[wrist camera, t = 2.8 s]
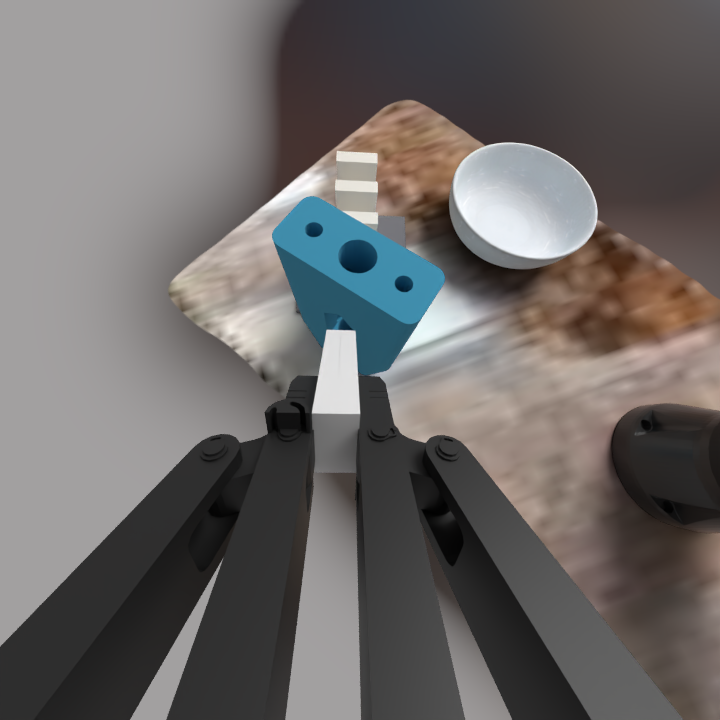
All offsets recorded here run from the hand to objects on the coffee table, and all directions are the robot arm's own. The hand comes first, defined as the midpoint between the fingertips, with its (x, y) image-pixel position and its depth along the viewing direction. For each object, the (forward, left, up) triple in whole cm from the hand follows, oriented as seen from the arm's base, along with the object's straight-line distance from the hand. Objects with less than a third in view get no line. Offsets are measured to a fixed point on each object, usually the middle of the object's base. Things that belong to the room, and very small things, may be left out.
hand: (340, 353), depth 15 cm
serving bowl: (+29, -25, -22) cm, 44 cm away
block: (+8, -1, -22) cm, 24 cm away
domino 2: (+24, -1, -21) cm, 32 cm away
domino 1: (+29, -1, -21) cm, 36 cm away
